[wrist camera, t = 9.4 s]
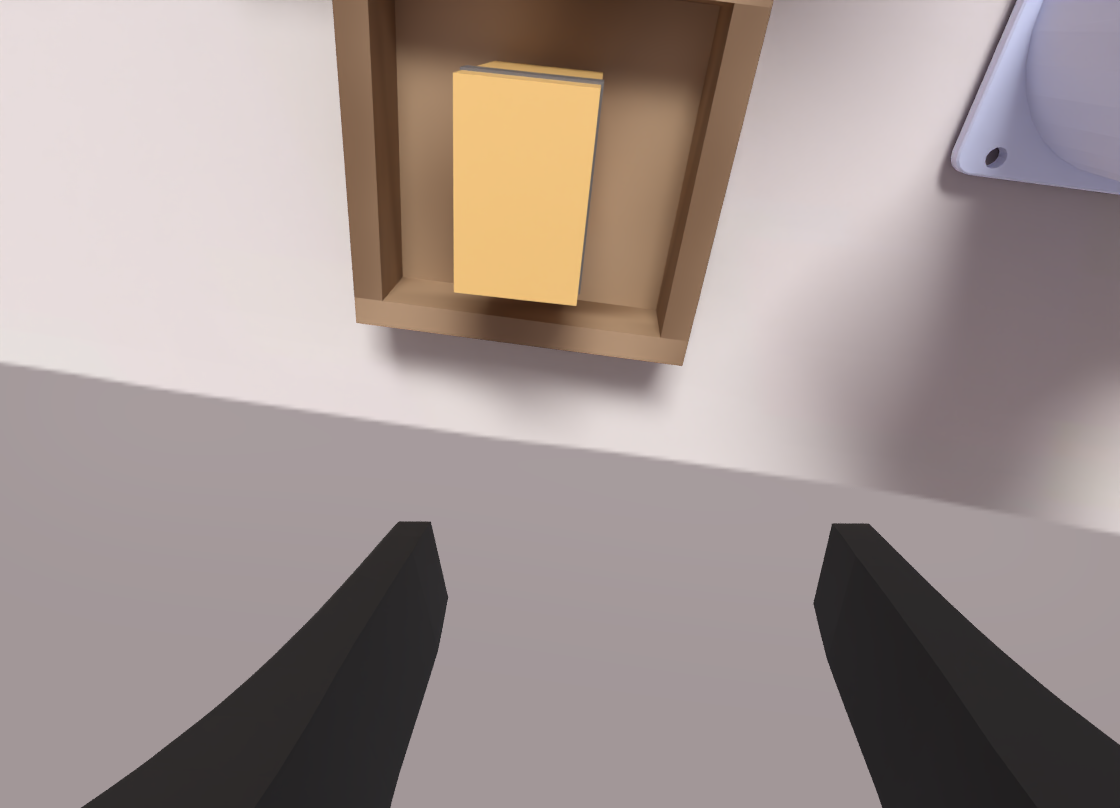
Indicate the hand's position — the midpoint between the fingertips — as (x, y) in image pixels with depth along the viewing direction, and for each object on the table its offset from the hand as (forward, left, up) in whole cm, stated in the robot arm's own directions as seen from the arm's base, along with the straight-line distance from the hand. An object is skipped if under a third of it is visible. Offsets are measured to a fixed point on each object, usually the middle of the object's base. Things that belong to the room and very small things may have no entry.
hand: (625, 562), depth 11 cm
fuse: (+3, -5, -10) cm, 11 cm away
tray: (+3, -5, -10) cm, 12 cm away
